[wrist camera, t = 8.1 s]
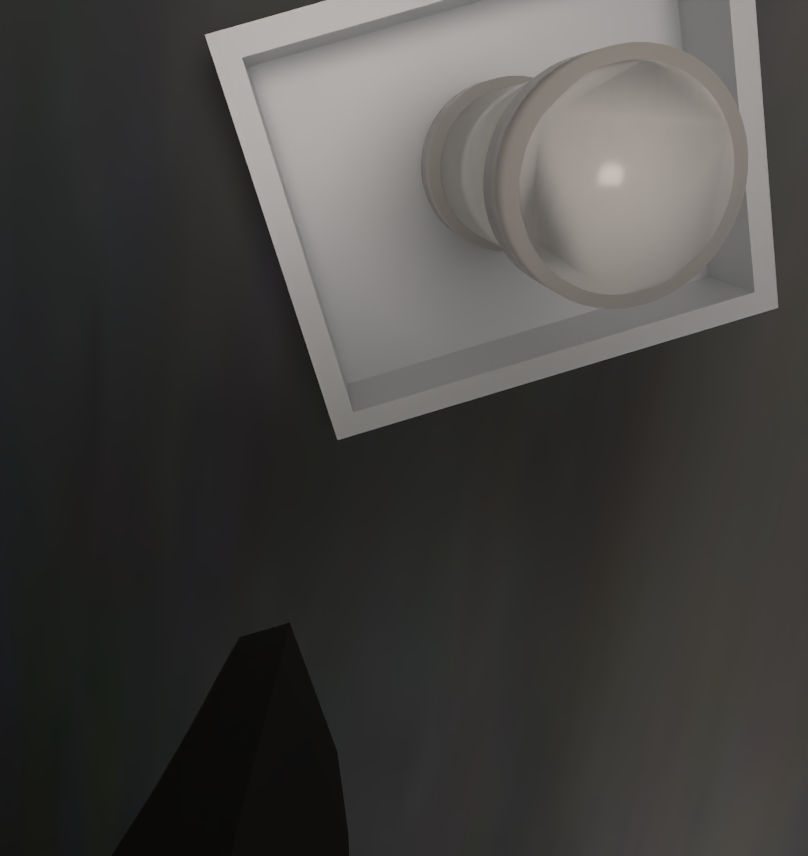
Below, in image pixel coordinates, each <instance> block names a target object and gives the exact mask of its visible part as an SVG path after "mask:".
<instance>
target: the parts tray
mask: <svg viewBox="0 0 808 856" xmlns="http://www.w3.org/2000/svg"><path fill="white" fill-rule="evenodd" d="M205 37H206V40H207V43H208V46H209V49H210V52H211V55H212V58H213V61H214V64H215V67H216V71H217V74H218V77H219V80H220V83H221V86H222V89H223V92H224V95H225V98H226V101H227V104H228V107H229V110H230V113H231V116H232V119H233V122H234V126H235V129H236V132H237V135H238V138H239V141H240V144H241V147H242V150H243V153H244V156H245V159H246V162H247V165H248V168H249V171H250V174H251V177H252V181H253V184H254V187H255V190H256V193H257V196H258V199H259V202H260V205H261V208H262V211H263V214H264V217H265V220H266V223H267V226H268V229H269V232H270V236H271V239H272V242H273V245H274V248H275V251H276V254H277V257H278V260H279V263H280V266H281V269H282V272H283V275H284V278H285V281H286V284H287V287H288V291H289V294H290V297H291V300H292V303H293V306H294V309H295V312H296V315H297V318H298V321H299V324H300V327H301V330H302V333H303V336H304V339H305V343H306V346H307V349H308V352H309V355H310V358H311V361H312V364H313V367H314V370H315V373H316V376H317V379H318V382H319V385H320V388H321V391H322V394H323V398H324V401H325V404H326V407H327V410H328V413H329V416H330V419H331V422H332V425H333V428H334V431H335V434H336V437H337V440H340V439H343V438H347V437H350V436H353V435H357V434H360V433H363V432H367V431H370V430H373V429H376V428H380V427H383V426H386V425H390V424H393V423H396V422H400V421H403V420H406V419H410V418H413V417H416V416H420V415H423V414H426V413H430V412H433V411H436V410H440V409H443V408H446V407H450V406H453V405H456V404H460V403H463V402H466V401H470V400H473V399H476V398H480V397H483V396H486V395H490V394H493V393H496V392H500V391H503V390H506V389H510V388H513V387H516V386H520V385H523V384H526V383H530V382H533V381H536V380H540V379H543V378H546V377H550V376H553V375H556V374H560V373H563V372H566V371H570V370H573V369H576V368H579V367H583V366H586V365H589V364H593V363H596V362H599V361H603V360H606V359H609V358H613V357H616V356H619V355H623V354H626V353H629V352H633V351H636V350H639V349H643V348H646V347H649V346H653V345H656V344H659V343H663V342H666V341H669V340H673V339H676V338H679V337H683V336H686V335H689V334H693V333H696V332H699V331H703V330H706V329H709V328H713V327H716V326H719V325H723V324H726V323H729V322H733V321H736V320H739V319H743V318H746V317H749V316H753V315H756V314H759V313H763V312H766V311H769V310H773V309H776V308H778V298H777V285H776V271H775V258H774V244H773V231H772V218H771V204H770V191H769V178H768V164H767V151H766V138H765V124H764V111H763V98H762V84H761V71H760V57H759V44H758V31H757V17H756V4H755V0H326V1H322V2H319V3H315V4H312V5H308V6H305V7H301V8H298V9H294V10H290V11H287V12H283V13H280V14H276V15H273V16H269V17H266V18H262V19H259V20H255V21H252V22H248V23H245V24H241V25H237V26H234V27H230V28H227V29H223V30H220V31H216V32H213V33H209V34H206V35H205ZM628 42H651V43H658V44H665V45H668V46H671V47H674V48H677V49H680V50H682V51H684V52H686V53H688V54H690V55H692V56H694V57H696V58H697V59H698V60H700V61H701V62H703V63H704V64H705V65H707V66H708V67H709V68H710V69H711V70H712V71H713V72H714V73H715V74H716V75H717V76H718V77H719V78H720V79H721V81H722V82H723V83H724V85H725V86H726V87H727V89H728V90H729V92H730V93H731V95H732V97H733V99H734V101H735V103H736V104H737V107H738V110H739V112H740V115H741V117H742V120H743V124H744V128H745V133H746V137H747V147H748V174H747V182H746V189H745V193H744V197H743V201H742V205H741V207H740V210H739V213H738V215H737V218H736V221H735V223H734V225H733V227H732V229H731V231H730V233H729V235H728V237H727V238H726V240H725V241H724V243H723V245H722V246H721V248H720V249H719V251H718V252H717V253H716V254H715V256H714V257H713V258H712V259H711V261H710V262H709V263H708V264H707V265H706V266H705V267H704V268H703V269H702V270H701V271H700V272H699V273H698V274H697V275H696V276H695V277H694V278H692V279H691V280H690V281H688V282H687V283H686V284H685V285H683V286H682V287H680V288H679V289H677V290H675V291H674V292H672V293H670V294H669V295H666V296H664V297H662V298H660V299H658V300H656V301H653V302H650V303H647V304H644V305H640V306H635V307H630V308H621V309H604V308H594V307H590V306H585V305H581V304H579V303H576V302H573V301H571V300H568V299H566V298H564V297H563V296H561V295H559V294H557V293H555V292H554V291H552V290H550V289H549V288H547V287H545V286H544V285H542V284H540V283H539V282H537V281H535V280H534V279H532V278H530V277H529V276H528V275H526V274H525V273H524V272H522V271H521V270H520V269H519V268H518V267H517V266H516V265H515V264H514V263H513V262H512V261H511V260H510V259H509V258H508V257H507V255H506V254H505V253H504V251H494V250H490V249H486V248H483V247H480V246H478V245H475V244H473V243H472V242H470V241H468V240H466V239H465V238H463V237H461V236H460V235H458V234H456V233H455V232H453V231H452V230H451V229H449V228H448V227H447V226H446V225H445V224H444V223H443V222H442V221H441V220H440V219H439V217H438V216H437V215H436V213H435V212H434V210H433V209H432V207H431V205H430V203H429V201H428V199H427V196H426V194H425V190H424V186H423V182H422V175H421V158H422V150H423V146H424V141H425V138H426V135H427V133H428V130H429V128H430V126H431V124H432V122H433V120H434V119H435V117H436V116H437V114H438V113H439V111H440V110H441V109H442V108H443V107H444V106H445V104H446V103H447V102H448V101H449V100H451V99H452V98H453V97H454V96H455V95H457V94H458V93H460V92H461V91H463V90H464V89H466V88H468V87H470V86H473V85H475V84H478V83H481V82H485V81H488V80H492V79H495V78H499V77H505V76H527V77H533V78H534V77H535V76H537V75H538V74H539V73H541V72H542V71H544V70H545V69H547V68H549V67H550V66H552V65H554V64H556V63H558V62H560V61H562V60H564V59H567V58H570V57H574V56H577V55H580V54H583V53H587V52H590V51H594V50H597V49H601V48H605V47H608V46H612V45H616V44H622V43H628Z"/></svg>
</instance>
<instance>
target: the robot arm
mask: <svg viewBox="0 0 808 856" xmlns="http://www.w3.org/2000/svg"><path fill="white" fill-rule="evenodd" d="M112 856H349V843H348V829H347V821H346V813H345V805H344V798H343V790H342V783H341V776H340V769H339V762H338V755H337V750H336V747H335V745H334V742H333V739H332V736H331V734H330V731H329V728H328V726H327V723H326V720H325V717H324V715H323V712H322V709H321V707H320V704H319V701H318V698H317V696H316V693H315V690H314V687H313V685H312V682H311V679H310V677H309V674H308V671H307V668H306V666H305V663H304V660H303V658H302V655H301V652H300V649H299V647H298V644H297V641H296V638H295V636H294V633H293V630H292V628H291V625H290V623H287V624H284V625H280V626H277V627H273V628H270V629H267V630H263V631H260V632H256V633H253V634H249V635H246V636H242V637H240V638H239V640H238V641H237V643H236V645H235V646H234V648H233V650H232V651H231V653H230V655H229V657H228V658H227V660H226V662H225V664H224V666H223V668H222V669H221V671H220V673H219V675H218V677H217V679H216V680H215V682H214V684H213V686H212V688H211V690H210V692H209V693H208V695H207V697H206V699H205V701H204V703H203V704H202V706H201V708H200V710H199V712H198V714H197V715H196V717H195V719H194V721H193V723H192V724H191V726H190V728H189V730H188V732H187V733H186V735H185V737H184V739H183V740H182V742H181V744H180V745H179V747H178V749H177V751H176V752H175V754H174V756H173V758H172V759H171V761H170V763H169V764H168V766H167V768H166V770H165V771H164V773H163V775H162V777H161V778H160V780H159V782H158V783H157V785H156V787H155V788H154V790H153V792H152V793H151V795H150V797H149V798H148V800H147V801H146V803H145V805H144V806H143V808H142V809H141V811H140V812H139V814H138V815H137V817H136V819H135V820H134V822H133V823H132V825H131V826H130V828H129V829H128V831H127V833H126V834H125V836H124V837H123V839H122V840H121V842H120V844H119V845H118V847H117V848H116V850H115V851H114V853H113V854H112Z"/></svg>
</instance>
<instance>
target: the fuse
mask: <svg viewBox="0 0 808 856" xmlns="http://www.w3.org/2000/svg"><path fill="white" fill-rule="evenodd" d="M747 174H748V147H747V137H746V133H745V128H744V124H743V120H742V117H741V115H740V112H739V110H738V107H737V104H736V103H735V101H734V99H733V97H732V95H731V93H730V92H729V90H728V89H727V87H726V86H725V85H724V83H723V82H722V81H721V79H720V78H719V77H718V76H717V75H716V74H715V73H714V72H713V71H712V70H711V69H710V68H709V67H708V66H707V65H705V64H704V63H703V62H701V61H700V60H698V59H697V58H696V57H694V56H692V55H690V54H688V53H686V52H684V51H682V50H680V49H677V48H674V47H671V46H668V45H665V44H658V43H651V42H628V43H622V44H616V45H612V46H608V47H605V48H601V49H597V50H594V51H590V52H587V53H583V54H580V55H577V56H574V57H570V58H567V59H564V60H562V61H560V62H558V63H556V64H554V65H552V66H550V67H549V68H547V69H545V70H544V71H542V72H541V73H539V74H538V75H537V76H535V77H534V78H533V77H527V76H505V77H499V78H495V79H492V80H488V81H485V82H481V83H478V84H475V85H473V86H470V87H468V88H466V89H464V90H463V91H461V92H460V93H458V94H457V95H455V96H454V97H453V98H452V99H451V100H449V101H448V102H447V103H446V104H445V106H444V107H443V108H442V109H441V110H440V111H439V113H438V114H437V116H436V117H435V119H434V120H433V122H432V124H431V126H430V128H429V130H428V133H427V135H426V138H425V141H424V146H423V150H422V158H421V175H422V182H423V186H424V190H425V194H426V196H427V199H428V201H429V203H430V205H431V207H432V209H433V210H434V212H435V213H436V215H437V216H438V217H439V219H440V220H441V221H442V222H443V223H444V224H445V225H446V226H447V227H448V228H449V229H451V230H452V231H453V232H455V233H456V234H458V235H460V236H461V237H463V238H465V239H466V240H468V241H470V242H472V243H473V244H475V245H478V246H480V247H483V248H486V249H490V250H494V251H504V253H505V254H506V255H507V257H508V258H509V259H510V260H511V261H512V262H513V263H514V264H515V265H516V266H517V267H518V268H519V269H520V270H521V271H522V272H524V273H525V274H526V275H528V276H529V277H530V278H532V279H534V280H535V281H537V282H539V283H540V284H542V285H544V286H545V287H547V288H549V289H550V290H552V291H554V292H555V293H557V294H559V295H561V296H563V297H564V298H566V299H568V300H571V301H573V302H576V303H579V304H581V305H585V306H590V307H594V308H604V309H621V308H630V307H635V306H640V305H644V304H647V303H650V302H653V301H656V300H658V299H660V298H662V297H664V296H666V295H669V294H670V293H672V292H674V291H675V290H677V289H679V288H680V287H682V286H683V285H685V284H686V283H687V282H688V281H690V280H691V279H692V278H694V277H695V276H696V275H697V274H698V273H699V272H700V271H701V270H702V269H703V268H704V267H705V266H706V265H707V264H708V263H709V262H710V261H711V259H712V258H713V257H714V256H715V254H716V253H717V252H718V251H719V249H720V248H721V246H722V245H723V243H724V241H725V240H726V238H727V237H728V235H729V233H730V231H731V229H732V227H733V225H734V223H735V221H736V218H737V215H738V213H739V210H740V207H741V205H742V201H743V197H744V193H745V189H746V182H747Z"/></svg>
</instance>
